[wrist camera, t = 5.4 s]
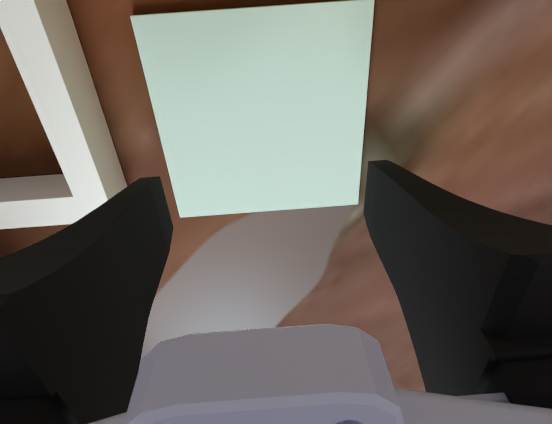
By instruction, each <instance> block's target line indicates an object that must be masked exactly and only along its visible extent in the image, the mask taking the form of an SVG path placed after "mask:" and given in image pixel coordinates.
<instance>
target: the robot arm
mask: <svg viewBox="0 0 552 424" xmlns="http://www.w3.org/2000/svg"><path fill="white" fill-rule="evenodd" d="M364 216H365V220H366V224H367V227H368V231H369V234H370V237H371V239H372V241H373V244H374V246H375V248H376V250H377V253H378V255H379V257H380V259H381V261H382V263H383V265H384V268H385V270H386V272H387V274H388V276H389V278H390V280H391V283H392V285H393V287H394V289H395V292H396V294H397V297H398V299H399V302H400V305H401V308H402V311H403V314H404V317H405V320H406V323H407V326H408V330H409V333H410V336H411V340H412V343H413V346H414V349H415V353H416V356H417V360H418V364H419V367H420V371H421V374H422V378H423V382H424V385H425V389H426V392H421V391H414V390H406V389H399V388H394V387H393V384H392V381H391V378H390V375H389V372H388V369H387V366H386V363H385V360H384V356H383V353H382V350H381V347H380V344H379V341H378V340H377V339H375V338H373V337H372V336H370V335H369V334H367V333H365V332H364V331H362V330H360V329H359V328H356V327H353V326H343V325H333V324H316V325H303V326H290V327H277V328H263V329H250V330H237V331H224V332H211V333H198V334H189V335H185V336H181V337H178V338H174V339H170V340H166V341H163V342H160V343H159V344H158V345H157V346H155V347H154V348H153V349H152V350H151V351H150V352H149V353H148V354H147V355H145V356H144V357H143V359H142V361H141V365H140V368H139V364H140V359H141V353H142V347H143V342H144V337H145V332H146V327H147V322H148V317H149V314H150V310H151V307H152V303H153V300H154V297H155V294H156V291H157V288H158V285H159V282H160V279H161V276H162V273H163V270H164V267H165V264H166V261H167V258H168V254H169V251H170V245H171V239H172V232H173V224H172V221H171V217H170V213H169V209H168V206H167V202H166V198H165V194H164V190H163V187H162V183H161V179H160V177H146V178H140V179H138V180H136V181H135V182H133V183H132V184H130V185H129V186H127V187H126V188H124V189H123V190H122V191H120V192H119V193H117V194H116V195H115V196H113V197H112V198H110V199H109V200H108V201H106V202H105V203H103V204H102V205H100V206H99V207H98V208H96V209H94V210H93V211H91V212H90V213H88V214H87V215H85V216H84V217H82V218H81V219H79V220H78V221H76V222H74V223H73V224H71V225H69V226H68V227H66V228H64V229H62V230H61V231H59V232H57V233H55V234H53V235H51V236H49V237H48V238H46V239H44V240H42V241H40V242H38V243H35V244H33V245H31V246H29V247H26V248H24V249H22V250H20V251H18V252H15V253H13V254H11V255H9V256H6V257H4V258H1V259H0V424H552V225H548V224H543V223H539V222H535V221H531V220H527V219H523V218H520V217H516V216H513V215H509V214H506V213H502V212H499V211H496V210H493V209H490V208H487V207H485V206H482V205H479V204H477V203H474V202H471V201H468V200H466V199H464V198H461V197H459V196H457V195H455V194H452V193H450V192H448V191H446V190H444V189H442V188H440V187H438V186H436V185H434V184H432V183H430V182H428V181H426V180H424V179H422V178H421V177H419V176H417V175H415V174H413V173H412V172H410V171H408V170H406V169H404V168H403V167H401V166H399V165H397V164H395V163H393V162H391V161H388V160H380V161H368V171H367V182H366V192H365V203H364ZM138 370H139V372H138Z"/></svg>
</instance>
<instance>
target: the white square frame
mask: <svg viewBox="0 0 552 424" xmlns="http://www.w3.org/2000/svg"><path fill="white" fill-rule="evenodd" d="M0 28H1V30H2V32H3V35H4V37H5V39H6V42H7V44H8V46H9V49H10V51H11V53H12V56H13V58H14V60H15V62H16V65H17V67H18V69H19V72H20V74H21V76H22V79H23V81H24V83H25V86H26V88H27V90H28V93H29V95H30V97H31V100H32V102H33V104H34V107H35V109H36V111H37V114H38V116H39V118H40V121H41V123H42V125H43V127H44V130H45V132H46V134H47V137H48V139H49V141H50V144H51V146H52V148H53V151H54V153H55V155H56V158H57V160H58V162H59V165H60V167H61V169H62V172H63V174H56V175H43V176H29V177H15V178H2V179H0V229H10V228H24V227H37V226H51V225H64V224H73V223H74V222H76V221H78V220H79V219H81V218H82V217H84V216H85V215H87V214H88V213H90V212H91V211H93V210H94V209H96V208H98V207H99V206H100V205H102V204H103V203H105V202H106V201H108V200H109V199H110V198H112V197H113V196H115V195H116V194H117V193H119V192H120V191H122V190H123V189H124V188H126V187H127V184H126V181H125V178H124V175H123V172H122V169H121V166H120V163H119V160H118V157H117V153H116V150H115V147H114V144H113V141H112V138H111V135H110V132H109V129H108V126H107V123H106V120H105V117H104V114H103V111H102V108H101V105H100V102H99V99H98V96H97V92H96V89H95V86H94V83H93V80H92V77H91V74H90V71H89V68H88V65H87V62H86V59H85V56H84V53H83V50H82V47H81V44H80V41H79V38H78V35H77V31H76V28H75V25H74V22H73V19H72V16H71V13H70V10H69V7H68V4H67V1H66V0H0Z"/></svg>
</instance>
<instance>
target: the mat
mask: <svg viewBox="0 0 552 424" xmlns="http://www.w3.org/2000/svg"><path fill="white" fill-rule="evenodd" d="M373 13H374V0H343V1H328V2H314V3H300V4H285V5H271V6H257V7H242V8H228V9H214V10H199V11H185V12H170V13H156V14H142V15H132V16H130V18H131V22H132V26H133V30H134V34H135V38H136V42H137V46H138V50H139V54H140V58H141V62H142V66H143V70H144V74H145V78H146V82H147V86H148V90H149V95H150V99H151V103H152V107H153V111H154V115H155V119H156V123H157V127H158V131H159V135H160V139H161V143H162V147H163V151H164V155H165V159H166V163H167V167H168V171H169V175H170V179H171V183H172V187H173V191H174V195H175V199H176V203H177V207H178V211H179V215H180V217H194V216H207V215H221V214H234V213H247V212H261V211H274V210H288V209H300V208H314V207H328V206H341V205H355V204H358V197H359V185H360V172H361V160H362V148H363V136H364V123H365V111H366V99H367V86H368V74H369V62H370V50H371V37H372V25H373Z"/></svg>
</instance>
